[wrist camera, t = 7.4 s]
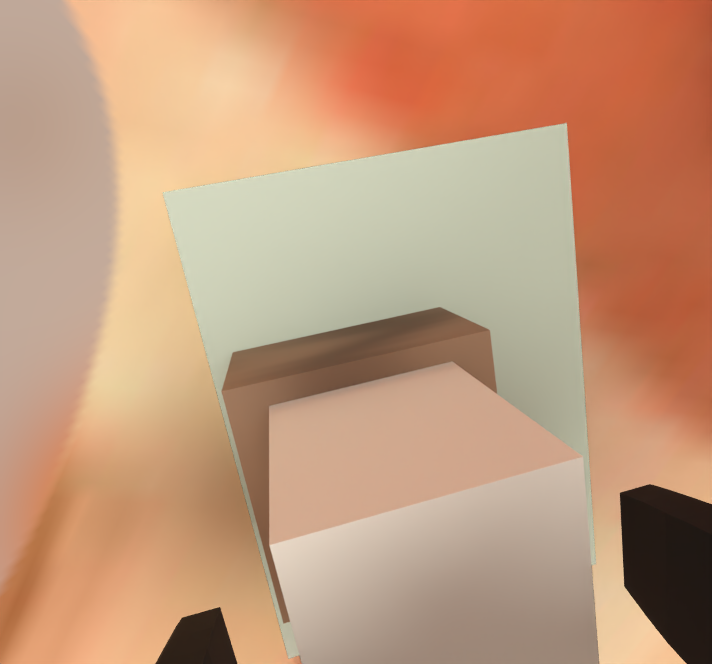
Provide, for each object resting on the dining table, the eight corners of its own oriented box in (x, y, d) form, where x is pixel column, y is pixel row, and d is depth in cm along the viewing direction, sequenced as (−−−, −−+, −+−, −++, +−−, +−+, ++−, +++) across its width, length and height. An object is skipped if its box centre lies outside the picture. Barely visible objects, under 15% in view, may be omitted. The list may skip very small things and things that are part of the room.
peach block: (452, 361, 12) (582, 456, 7) (475, 519, 13) (601, 699, 8) (269, 405, 11) (268, 545, 6) (309, 568, 12) (337, 793, 7)
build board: (557, 126, 15) (566, 123, 14) (587, 555, 19) (596, 564, 18) (166, 193, 13) (162, 192, 13) (287, 646, 17) (288, 658, 17)
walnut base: (440, 306, 15) (489, 329, 12) (465, 487, 16) (515, 554, 13) (232, 352, 14) (221, 391, 11) (280, 538, 16) (283, 623, 12)
